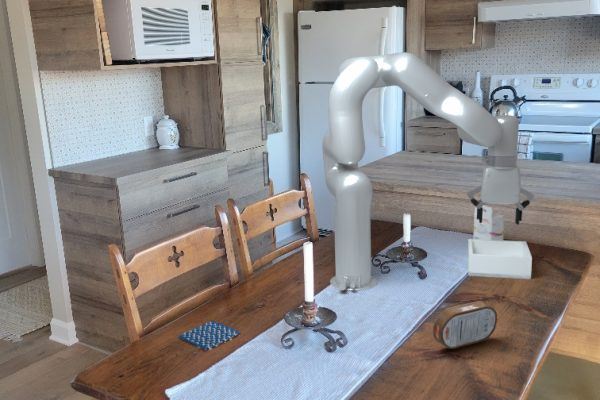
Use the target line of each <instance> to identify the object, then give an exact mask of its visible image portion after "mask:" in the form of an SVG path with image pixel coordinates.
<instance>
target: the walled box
mask: <svg viewBox="0 0 600 400" xmlns="http://www.w3.org/2000/svg"><path fill="white" fill-rule="evenodd" d="M467 240H468V241H467V270H468V271H467V272H468V273H467V274H468V277H482V278H483V277H484V278H485V277H487V278H498V279H499V278H502V279H519V280H520V279H521V280H531V279H532V267H533V266H532V264H533V262H532V261H533V257H532V254H531V251H530V249H529V246H528V243H527V241H525V240H523V241H522V240H505V239H503V240H480V239H473V238H468V239H467Z"/></svg>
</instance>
